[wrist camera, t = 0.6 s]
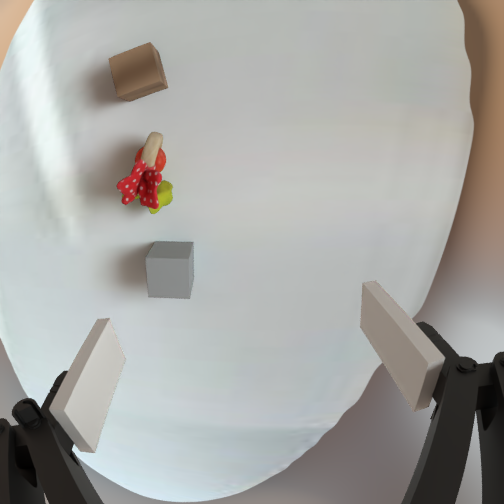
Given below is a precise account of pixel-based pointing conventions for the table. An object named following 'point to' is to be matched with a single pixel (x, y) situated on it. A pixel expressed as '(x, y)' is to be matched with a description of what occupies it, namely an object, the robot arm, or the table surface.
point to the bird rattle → (148, 177)
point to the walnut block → (138, 72)
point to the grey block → (170, 269)
